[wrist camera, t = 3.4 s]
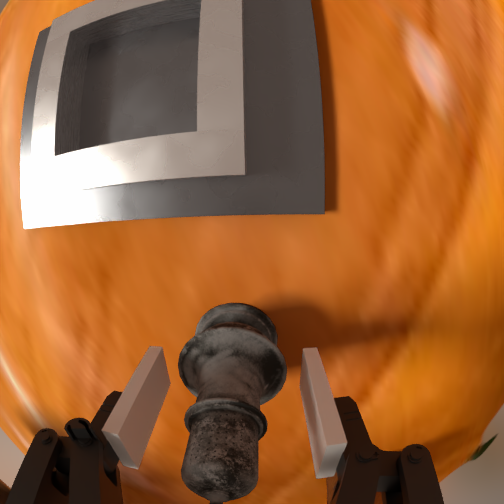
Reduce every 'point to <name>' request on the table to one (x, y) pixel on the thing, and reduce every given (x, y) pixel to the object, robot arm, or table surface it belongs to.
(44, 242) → the table surface
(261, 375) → the dark grey chess piece
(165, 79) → the collar plate
